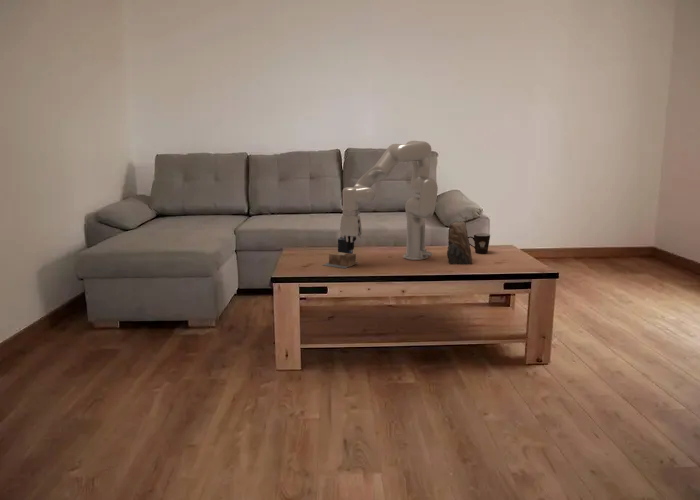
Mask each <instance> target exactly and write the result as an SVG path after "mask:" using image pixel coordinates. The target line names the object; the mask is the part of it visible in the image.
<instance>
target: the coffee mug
mask: <svg viewBox="0 0 700 500" xmlns="http://www.w3.org/2000/svg"><path fill="white" fill-rule="evenodd" d="M470 238H471V239H472V240H473V242H474V245H472V243H470V247H473V248H474V252H475V254H477V255H486V254H488V250H489V245H490V238H491V234H490V233H487V232H486V233H484V232H478V233H477V232H475V233H473V236H468V239H470Z"/></svg>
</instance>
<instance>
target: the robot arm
mask: <svg viewBox="0 0 700 500" xmlns="http://www.w3.org/2000/svg"><path fill="white" fill-rule="evenodd" d="M431 153H432V146H431V144H430V143H428V142H427V141H423V140H421V141H420V140H410V141H407V142H406V143H403V144H402V143H393V144H392V143H391V144H390V145H389V146H388V147H387V148H386V150H385V151H384V152H383V154H382V155H381V156H380V158H379V159H378V160H377V162H376V163H375V164H374V166H372V167H371V168H370V169H368V170H367V171H366V172H365V173H364V174H363V175H361V177H359V179H358V180H357V181H356V183H355V184H354V186H352V187H349V186H347V187H344V188H343V189H342V192H341V193H342V215H341V218H340V222H339V223H340V226H339V232H340V237H343V238H345V240H346V242H347V248H348V250H353V251H354V250H355V241H357V240H360V239H361V235H362V233H363V230H362V229H363V228H362V220H361V216H360V214H361V211H359V203H370V202H372V201H373V200H374V199H375V197H376V192H375V190H374V189H373V187H372V186H373V185H374V184H376V183H377V182H379V181H381V180H384V179H386V178H388V177H389V176H390V175H391V173H392V171H393V170H394V169H395V167H397V165H398V163H401V162H402V163H405V162H407V163H408V162H412V174H411V182H410V190H411V192H412V193H413V194H415V195H418V196H419V197H418V196H412V197H409V199H408V200H407V201H406V202H405V207H404V208H405V216H406V248H405V249H406V252H405V253H404V254H403V258H404V259H405V260H411V261H412V260H413V261H420V260H426V259H427V258H428V257H432V255H433V253H432V251H427V248H426V219H429V218H431V217H432V216H433V214H435V210H436V204H437V197H438V189H439V188H438V183H437V181H436V180H435V179H434V178H433V177H430V166H431V165H430V160H429V157H430V155H431ZM371 187H372V188H371Z"/></svg>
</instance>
